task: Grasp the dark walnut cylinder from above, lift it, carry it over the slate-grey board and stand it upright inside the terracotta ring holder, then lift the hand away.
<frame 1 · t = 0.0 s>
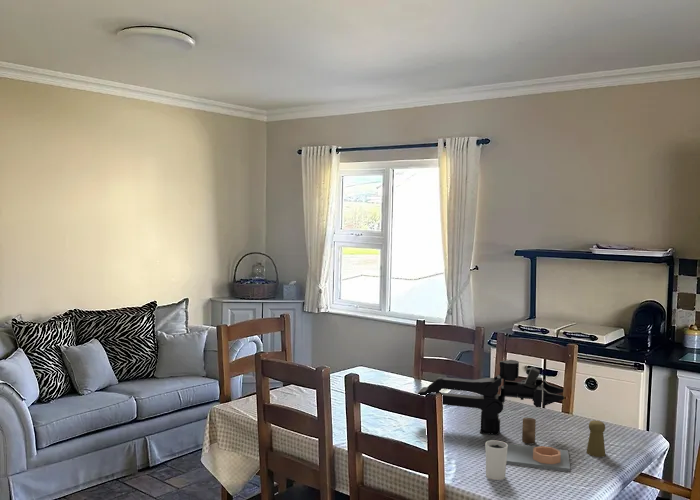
hand: (563, 394, 225), 17 cm above the table, tool horizontal, fingers open, 9 cm apart
white cup: (495, 476, 194), on the table
walnut cylinder: (528, 441, 224), on the table
slate board: (536, 458, 209), on the table
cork: (595, 454, 214), on the table
terracotta ring: (546, 461, 206), resting on slate board
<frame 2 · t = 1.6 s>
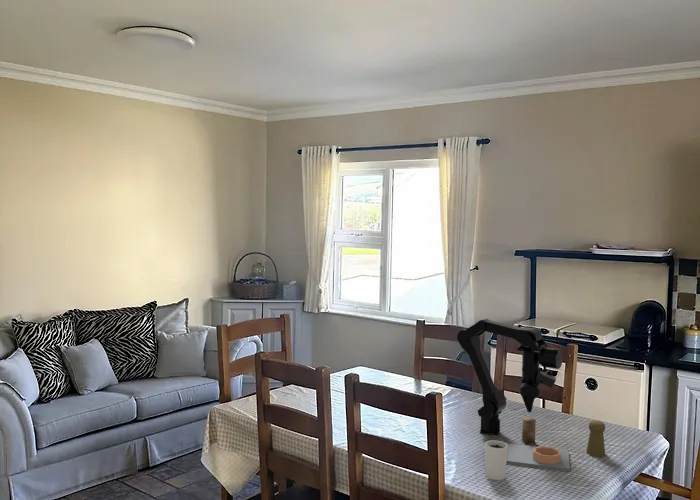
hand: (529, 408, 223), 12 cm above the table, tool pointing down, fingers open, 9 cm apart
nothing on the table moved.
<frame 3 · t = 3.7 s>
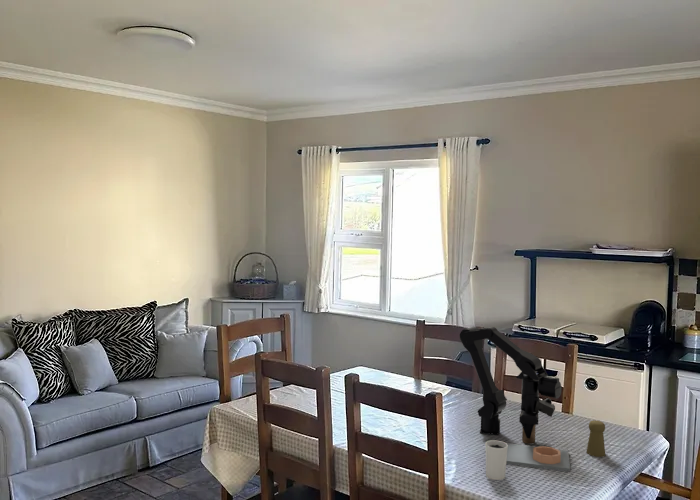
hand: (528, 436, 224), 2 cm above the table, tool pointing down, fingers closed on walnut cylinder, 4 cm apart
walnut cylinder: (528, 441, 224), on the table, touching gripper
everything else where it was.
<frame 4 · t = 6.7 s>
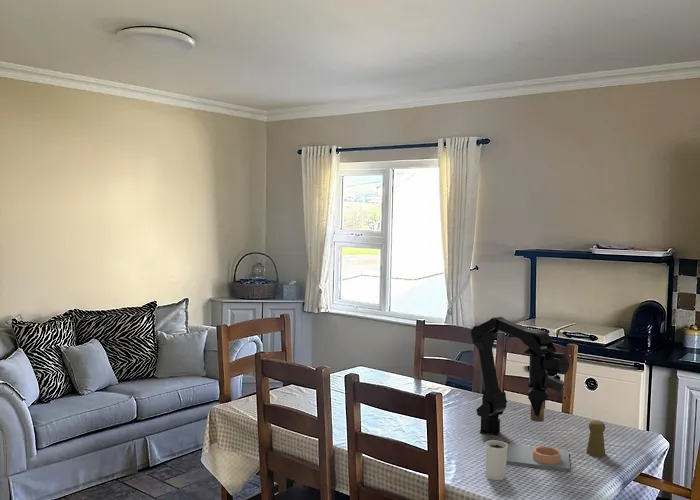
hand: (537, 413, 216), 12 cm above the table, tool pointing down, fingers closed on walnut cylinder, 4 cm apart
walnut cylinder: (537, 419, 216), point 10 cm above the table, touching gripper
everything else where it was.
when the fingers open (4 cm above the table, at t = 9.7 s): walnut cylinder drops 1 cm, resting on slate board.
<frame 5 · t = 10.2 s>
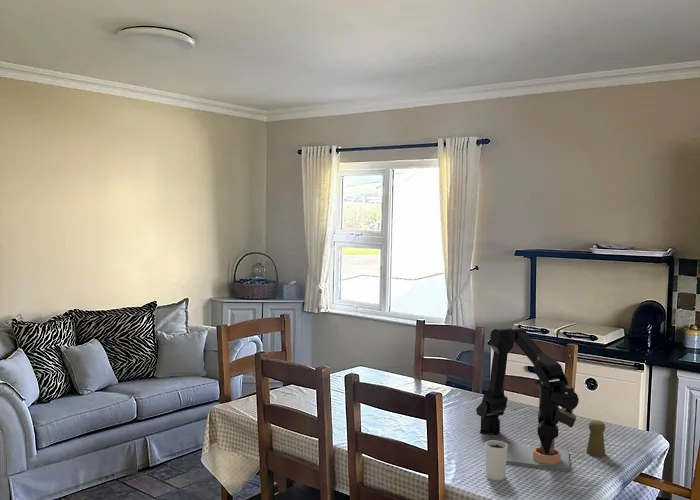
hand: (546, 448, 206), 4 cm above the table, tool pointing down, fingers open, 9 cm apart
walnut cylinder: (546, 458, 206), point 1 cm above the table, touching slate board
everything else where it was.
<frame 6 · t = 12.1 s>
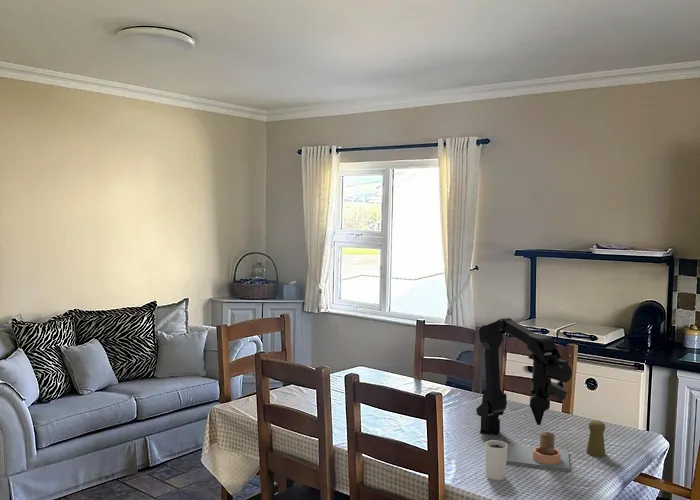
hand: (539, 420, 212), 11 cm above the table, tool pointing down, fingers open, 9 cm apart
nothing on the table moved.
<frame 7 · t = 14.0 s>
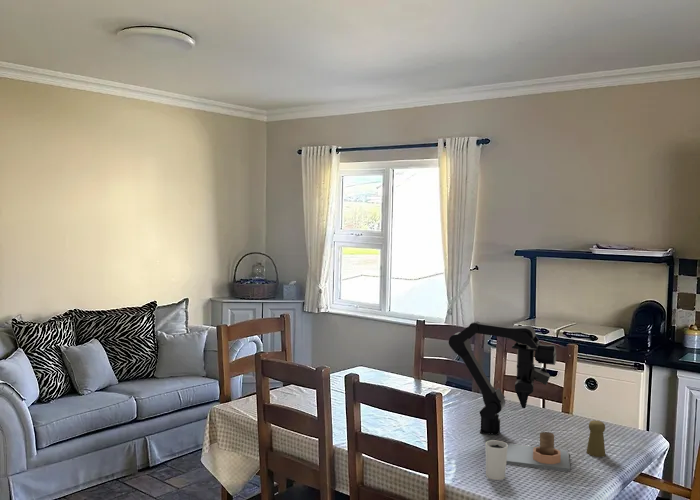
hand: (524, 404, 227), 12 cm above the table, tool pointing down, fingers open, 9 cm apart
nothing on the table moved.
at the end: walnut cylinder 0.0 cm off-centre on the terracotta ring, point 1.1 cm above the terracotta ring's base; walnut cylinder tilted 2°; the gripper is holding nothing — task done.
